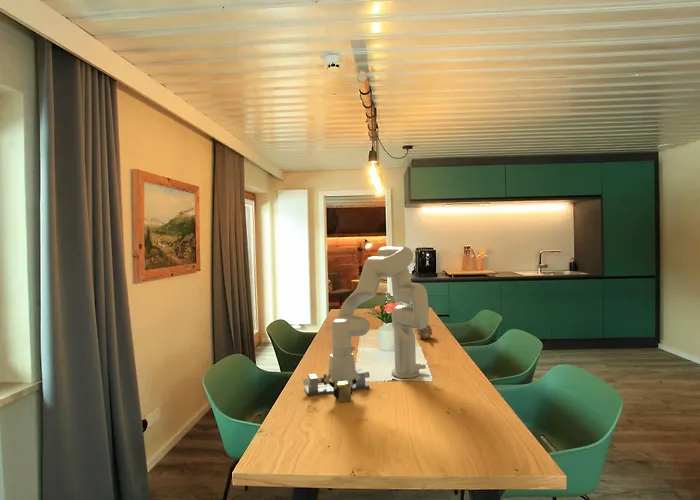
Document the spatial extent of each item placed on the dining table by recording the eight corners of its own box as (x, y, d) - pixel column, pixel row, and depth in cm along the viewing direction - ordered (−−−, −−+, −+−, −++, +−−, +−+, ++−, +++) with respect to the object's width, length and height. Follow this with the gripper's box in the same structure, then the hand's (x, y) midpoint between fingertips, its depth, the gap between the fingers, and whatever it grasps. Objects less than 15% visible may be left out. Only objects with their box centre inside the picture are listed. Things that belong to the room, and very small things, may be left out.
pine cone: (414, 335, 255) (413, 320, 254) (428, 335, 255) (428, 319, 255) (422, 344, 233) (421, 327, 232) (438, 344, 233) (438, 327, 233)
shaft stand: (366, 381, 175) (365, 366, 175) (371, 388, 167) (371, 372, 167) (302, 389, 168) (301, 373, 168) (305, 396, 160) (304, 380, 160)
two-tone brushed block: (335, 396, 160) (335, 381, 160) (346, 395, 161) (346, 380, 161) (339, 403, 153) (339, 387, 153) (350, 401, 154) (350, 386, 154)
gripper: (360, 346, 162) (361, 391, 163) (318, 350, 158) (320, 396, 158) (365, 351, 155) (366, 398, 155) (322, 355, 151) (323, 403, 151)
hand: (343, 396), depth 157 cm, fingers closed on two-tone brushed block, 4 cm apart
